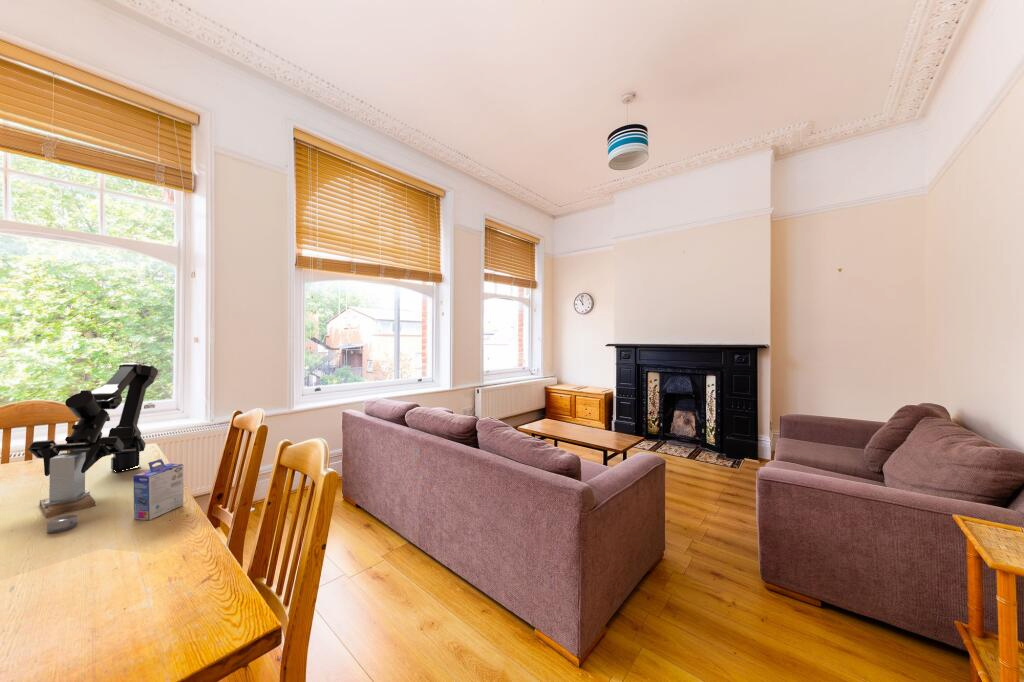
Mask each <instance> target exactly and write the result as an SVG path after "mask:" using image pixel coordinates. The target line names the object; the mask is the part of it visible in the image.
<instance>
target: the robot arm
mask: <svg viewBox="0 0 1024 682" xmlns="http://www.w3.org/2000/svg"><path fill="white" fill-rule="evenodd" d="M158 372H159V371H158V368H156V367H155V366H154V365H152V364H150V365H149V364H148V365H147V364H145V365H144V364H140V363H136V362H134V363H129V362H128V363H127V362H124V363H121V364H120V365H119V366H118V370H117V371H116V372H115V373H114V374H113V375H112V376H111V378H110V379H108V380H107V382H106V383H105V384H104V385H103V386H101V387H97V388H95V389H94V390H92V391H91V389H88V390H87V389H85V390H80V392H78V393H75V394H73V395H71V396H69V397H68V398H66V400H65V402H64V403H65V405H66V407H67V409H68V410H69V411H70V412H71V413H72V414H73V416H74V417H76V418H78V419H79V420H78V422H77V423H76V424H73V425H72V427H71V429H72V433H71V434H70V435H69V436H66V437H65V439H64V441H65V442H66V443H58V444H57V442H55V441H54V439H53V440H52V439H49V440H35V441H33V442H31V443H30V445H29V446H28V448H27V450H28V451H29V452H30V453H31V454H32V455H33V456H35V457H36V459H37V458H38V459H43V469H44V473H43V474H44V476H45V477H50V459H51V458H53V457H55V456H57V455H60V452H63V451H64V452H66V451H67V452H68V451H69V453H76V452H86V455H85V462H84V464H83V466H82V470H81V472H82V473H85V474H86V472H87V471H89V469H90V468H91V467H93V465H94V464H95V463H97V462H98V461H99V460H100V459H102V458H103V457H104V458H105V457H107V456H108V457H109V456H111V455H113V456H112V457H110V469H111V471H113V470H115V471H116V472H117V473H119V472H118V471H122V470H126V469H130V468H133V467H135V466H138V465H140V452H144V451H145V448H146V442H145V441H144V439H143V438H142V432H141V430H140V428H139V427H138V424H139V420H140V415H141V411H142V407H143V404H144V399H145V395H146V392H147V391H146V390H147V389H148V388H149V387H150V386H151V385H152V384H153V383H154V382H155V379H156V377H157V376H158ZM127 387H128V389H127ZM126 389H127V392H126V393H127V394H126V398H125V400H124V404H123V409H122V411H121V415H120V420H119V423H118V425H116V426H115V427H111V428H110V429H109V432H108V436H103V433H102V429H103V428H104V426H105V423H106V422H110V421H111V417H110V413H109V412H108V410H116V409H117V408H118V407H119V406H120V405H121V403H122V402H123V397H122V393H124V390H126ZM116 472H115V473H116ZM122 472H123V471H122Z"/></svg>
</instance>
